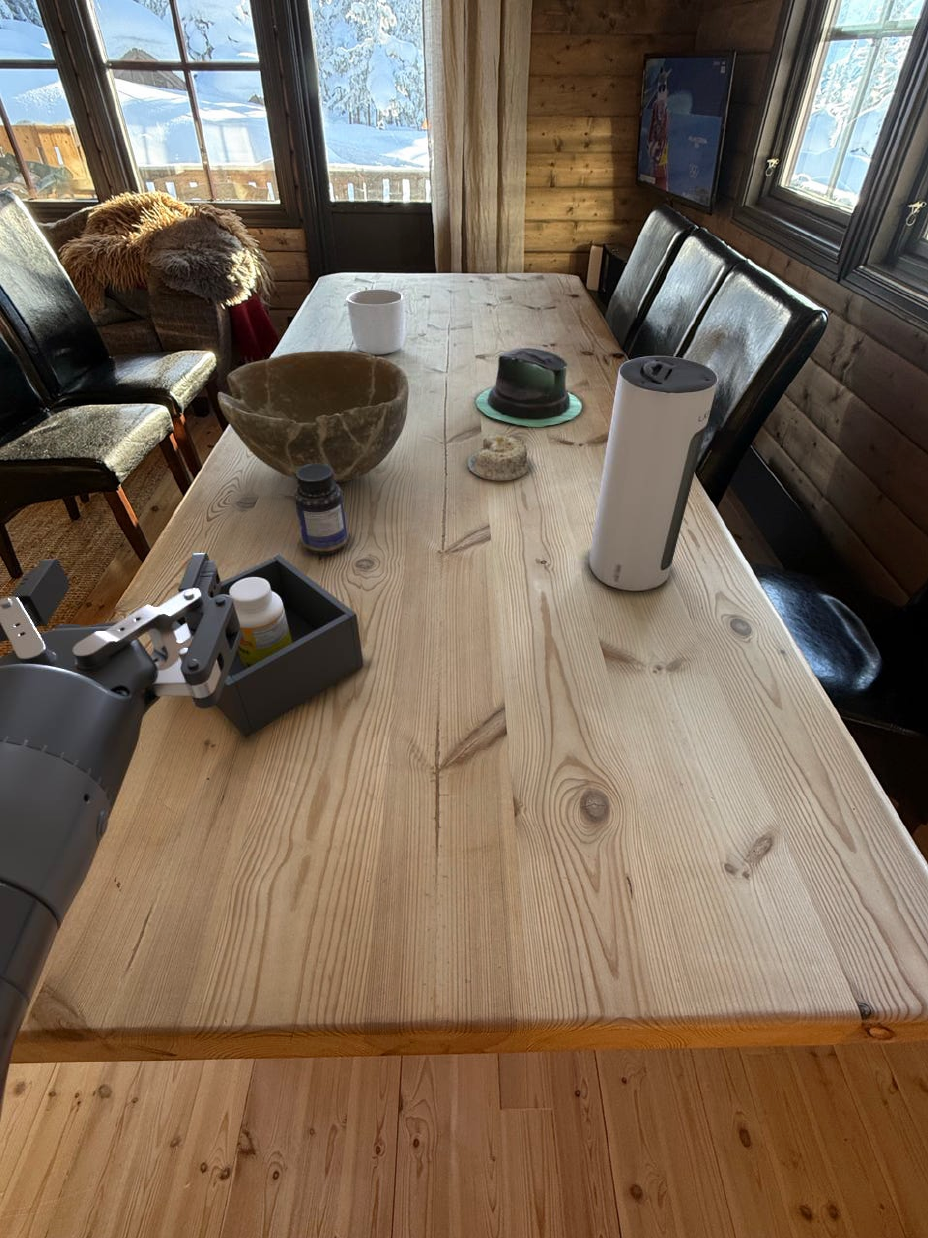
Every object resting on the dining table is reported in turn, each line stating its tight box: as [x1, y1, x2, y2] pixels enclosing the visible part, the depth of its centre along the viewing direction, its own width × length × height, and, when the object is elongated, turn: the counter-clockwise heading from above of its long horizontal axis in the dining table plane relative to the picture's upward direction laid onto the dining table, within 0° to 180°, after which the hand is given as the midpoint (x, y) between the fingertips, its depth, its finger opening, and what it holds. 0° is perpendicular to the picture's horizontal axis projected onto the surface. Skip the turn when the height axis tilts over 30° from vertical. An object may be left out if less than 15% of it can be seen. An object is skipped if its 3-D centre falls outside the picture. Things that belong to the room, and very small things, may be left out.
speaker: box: [588, 355, 719, 592], centre depth 77 cm, size 11×10×26 cm
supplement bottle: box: [229, 577, 292, 669], centre depth 69 cm, size 6×6×10 cm
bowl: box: [217, 350, 410, 484], centre depth 100 cm, size 28×27×15 cm
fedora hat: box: [475, 347, 583, 428], centre depth 124 cm, size 15×19×20 cm
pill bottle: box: [293, 463, 349, 556], centre depth 86 cm, size 6×6×11 cm
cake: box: [467, 434, 530, 482], centre depth 105 cm, size 10×10×5 cm
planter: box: [346, 288, 406, 355], centre depth 145 cm, size 12×12×11 cm
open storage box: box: [173, 554, 365, 739], centre depth 70 cm, size 15×15×8 cm
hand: (131, 568), depth 39 cm, fingers open, 8 cm apart
